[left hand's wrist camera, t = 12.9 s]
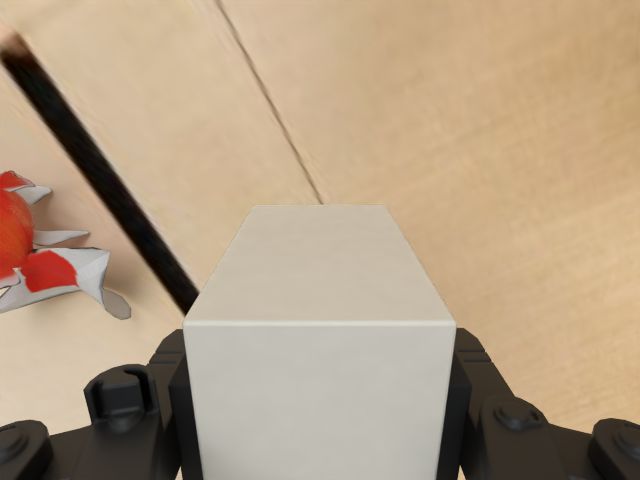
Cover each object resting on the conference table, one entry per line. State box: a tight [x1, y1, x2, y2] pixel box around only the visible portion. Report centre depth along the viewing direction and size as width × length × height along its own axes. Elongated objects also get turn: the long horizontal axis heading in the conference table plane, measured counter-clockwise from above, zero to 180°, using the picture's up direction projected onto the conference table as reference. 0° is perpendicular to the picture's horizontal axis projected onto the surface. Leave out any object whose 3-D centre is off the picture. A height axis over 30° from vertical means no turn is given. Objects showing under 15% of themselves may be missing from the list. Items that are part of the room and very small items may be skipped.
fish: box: [0, 171, 131, 320], centre depth 29 cm, size 11×16×10 cm
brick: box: [182, 205, 457, 480], centre depth 11 cm, size 5×6×8 cm
